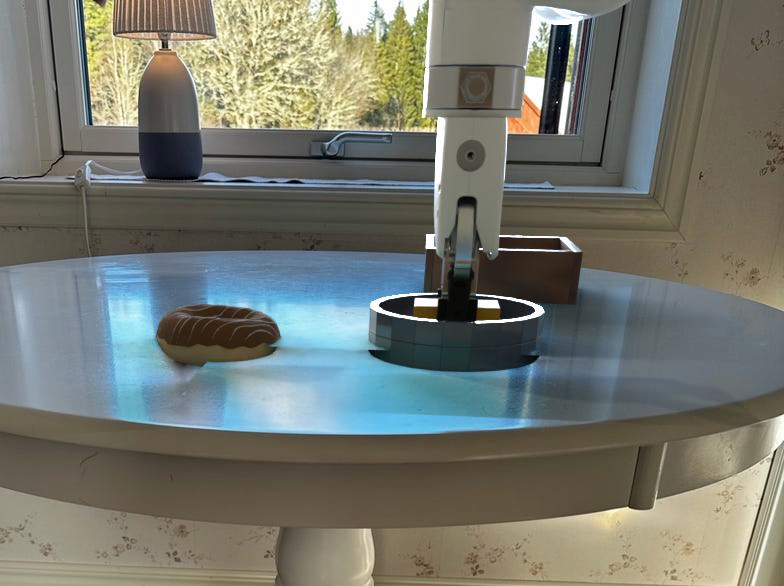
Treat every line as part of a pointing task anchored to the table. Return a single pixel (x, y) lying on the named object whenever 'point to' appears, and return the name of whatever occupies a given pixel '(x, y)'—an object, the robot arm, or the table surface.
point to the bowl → (455, 336)
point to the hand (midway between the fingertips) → (453, 340)
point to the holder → (519, 269)
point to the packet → (428, 306)
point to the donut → (216, 334)
